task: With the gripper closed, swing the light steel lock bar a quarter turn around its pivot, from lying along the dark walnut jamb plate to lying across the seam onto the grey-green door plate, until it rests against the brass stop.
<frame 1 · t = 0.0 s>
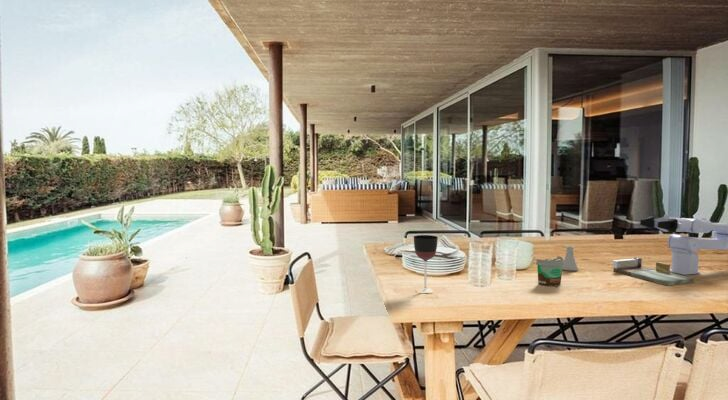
hand: (649, 223, 181), 22 cm above the table, tool horizontal, fingers open, 7 cm apart
flask: (569, 269, 196), on the table
food container: (553, 285, 171), on the table
wineglass: (425, 291, 163), on the table
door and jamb: (681, 272, 189), on the table
lock bar: (627, 263, 191), point 3 cm above the table, hinge at 0.0°
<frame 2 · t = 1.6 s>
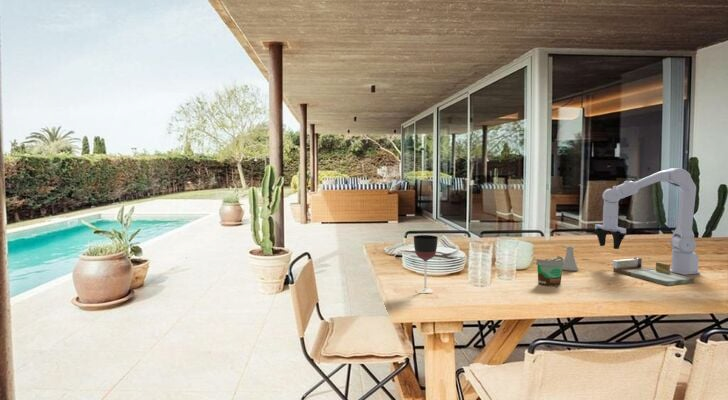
hand: (609, 247, 196), 9 cm above the table, tool pointing down, fingers open, 7 cm apart
nothing on the table moved.
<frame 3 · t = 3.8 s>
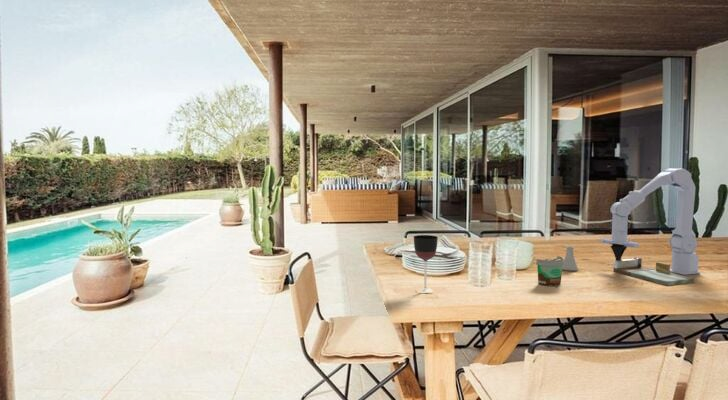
hand: (618, 262, 192), 4 cm above the table, tool pointing down, fingers closed, pressing on lock bar
lock bar: (627, 263, 191), point 4 cm above the table, hinge at 0.6°, touching gripper
everything else where it was.
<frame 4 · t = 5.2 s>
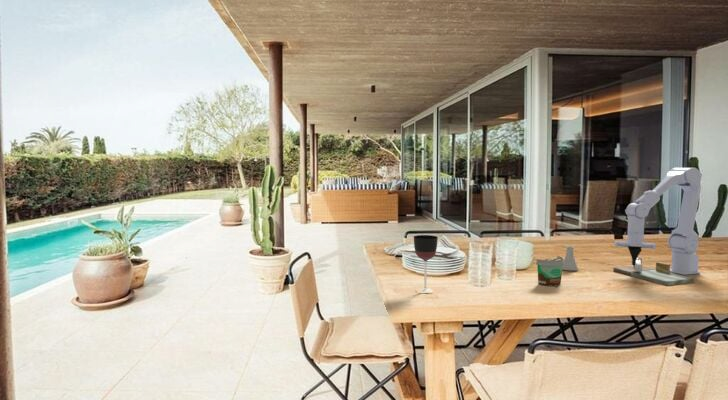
hand: (633, 264, 186), 4 cm above the table, tool pointing down, fingers closed, pressing on lock bar
lock bar: (637, 264, 188), point 4 cm above the table, hinge at 41.6°, touching gripper
everything else where it was.
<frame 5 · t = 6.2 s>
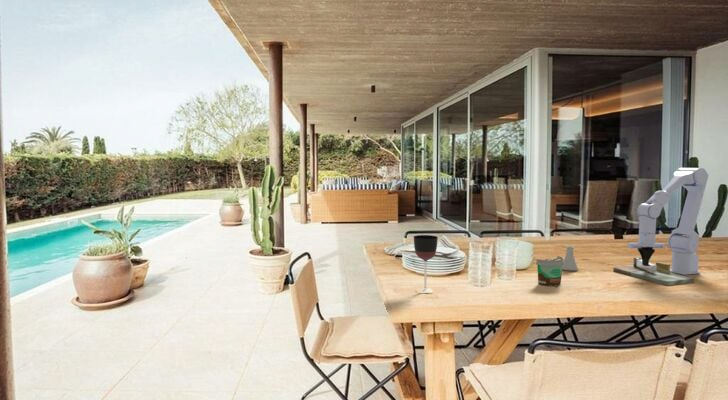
hand: (645, 265, 184), 4 cm above the table, tool pointing down, fingers closed, pressing on lock bar
lock bar: (644, 265, 187), point 4 cm above the table, hinge at 67.0°, touching gripper
everything else where it was.
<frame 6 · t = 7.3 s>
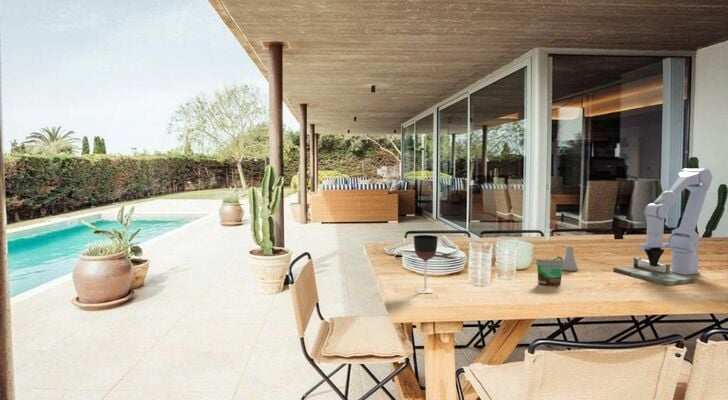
hand: (653, 266, 183), 4 cm above the table, tool pointing down, fingers closed
lock bar: (648, 264, 187), point 4 cm above the table, hinge at 88.0°, touching gripper
everything else where it was.
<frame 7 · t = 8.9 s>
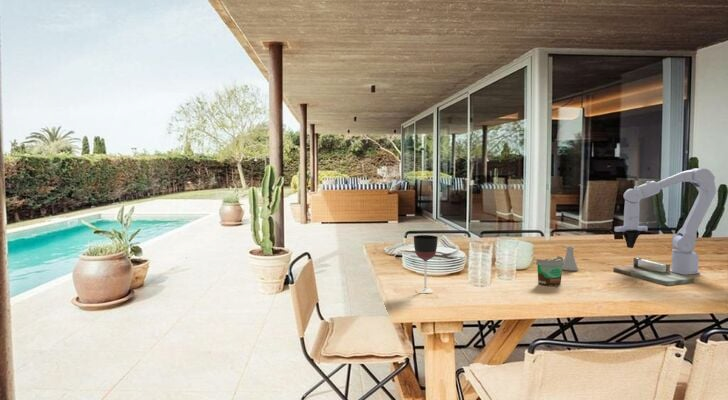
hand: (630, 247, 195), 9 cm above the table, tool pointing down, fingers closed
lock bar: (648, 264, 187), point 4 cm above the table, hinge at 88.2°
everything else where it was.
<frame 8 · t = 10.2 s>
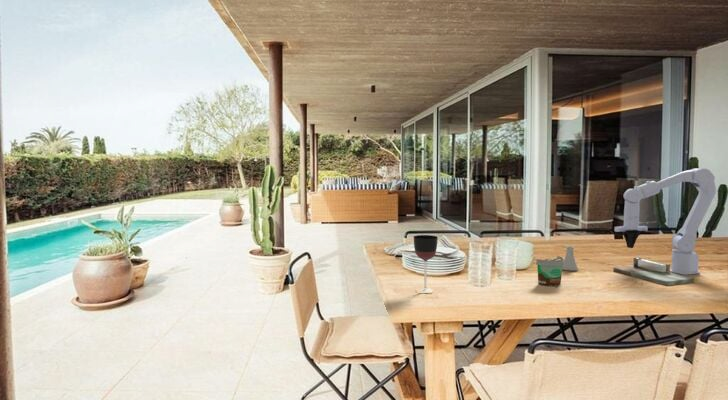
hand: (630, 247, 195), 9 cm above the table, tool pointing down, fingers closed
nothing on the table moved.
at the end: lock bar at +88° (first picture: +0°); flask moved 0.3 cm from its start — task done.
